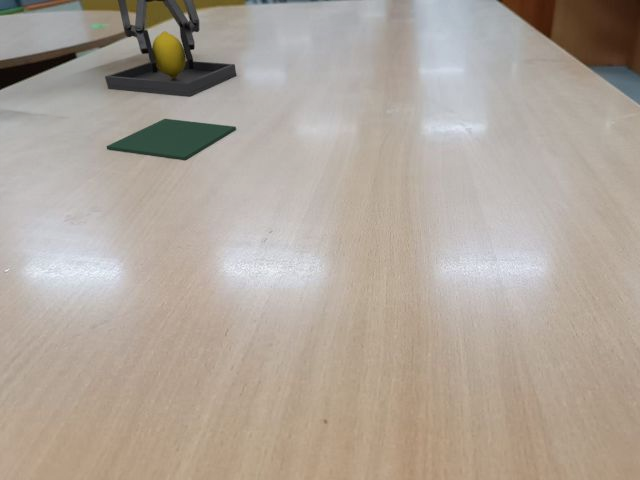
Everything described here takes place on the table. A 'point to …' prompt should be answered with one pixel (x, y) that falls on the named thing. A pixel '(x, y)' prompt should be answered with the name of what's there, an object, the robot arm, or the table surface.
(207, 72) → the tray
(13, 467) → the table surface
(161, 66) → the lemon
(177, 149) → the mat
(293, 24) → the table surface
